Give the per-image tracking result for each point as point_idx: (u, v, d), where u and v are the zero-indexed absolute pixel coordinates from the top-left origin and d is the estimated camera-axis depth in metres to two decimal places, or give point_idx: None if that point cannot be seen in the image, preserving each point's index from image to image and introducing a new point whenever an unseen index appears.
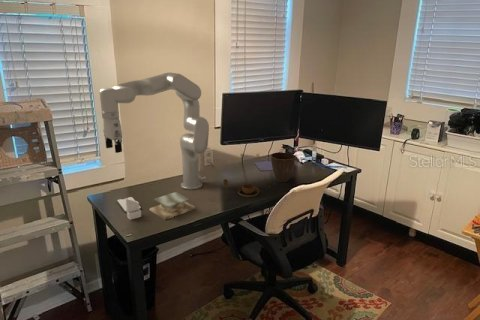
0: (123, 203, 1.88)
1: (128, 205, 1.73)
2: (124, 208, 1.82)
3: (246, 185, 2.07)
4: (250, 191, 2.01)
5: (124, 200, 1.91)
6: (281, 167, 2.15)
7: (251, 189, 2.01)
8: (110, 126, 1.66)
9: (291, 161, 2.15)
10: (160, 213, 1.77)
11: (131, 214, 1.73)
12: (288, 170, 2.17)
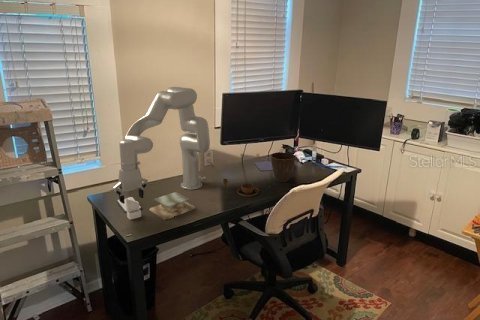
0: None
1: (128, 205, 1.73)
2: (124, 208, 1.82)
3: (245, 185, 2.08)
4: (249, 191, 2.02)
5: (124, 200, 1.91)
6: (281, 167, 2.15)
7: (250, 189, 2.02)
8: (140, 174, 1.70)
9: (291, 161, 2.15)
10: (160, 213, 1.77)
11: (131, 214, 1.73)
12: (288, 170, 2.17)
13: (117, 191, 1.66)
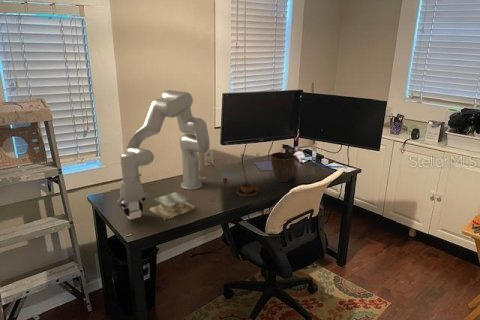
0: None
1: (128, 205, 1.73)
2: None
3: (245, 184, 2.08)
4: (248, 190, 2.02)
5: None
6: (281, 167, 2.15)
7: (249, 188, 2.02)
8: (141, 186, 1.72)
9: (291, 161, 2.15)
10: (160, 213, 1.77)
11: (131, 214, 1.73)
12: (288, 170, 2.17)
13: (122, 204, 1.69)
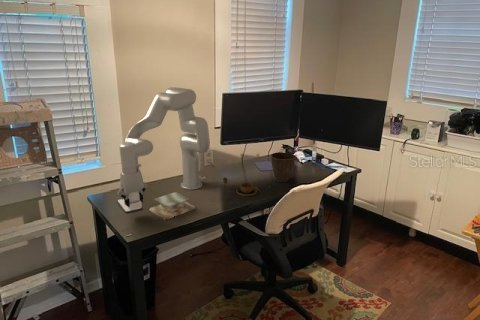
0: (123, 203, 1.88)
1: (128, 196, 1.72)
2: (124, 208, 1.82)
3: (245, 184, 2.08)
4: (248, 190, 2.02)
5: None
6: (281, 167, 2.15)
7: (249, 188, 2.02)
8: (141, 176, 1.71)
9: (291, 161, 2.15)
10: (160, 213, 1.77)
11: (131, 205, 1.72)
12: (288, 170, 2.17)
13: (122, 195, 1.68)
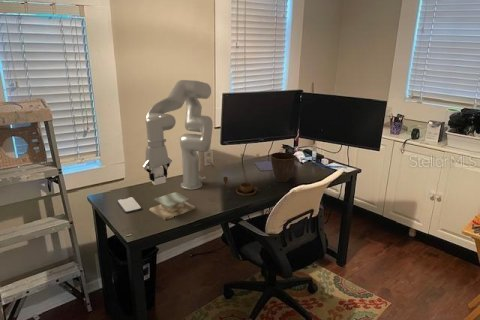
0: (123, 203, 1.88)
1: None
2: (124, 208, 1.82)
3: (245, 184, 2.09)
4: (247, 190, 2.03)
5: (124, 200, 1.91)
6: (281, 167, 2.15)
7: (248, 188, 2.03)
8: (166, 151, 1.73)
9: (291, 161, 2.15)
10: (160, 213, 1.77)
11: (156, 179, 1.74)
12: (288, 170, 2.17)
13: (147, 169, 1.70)
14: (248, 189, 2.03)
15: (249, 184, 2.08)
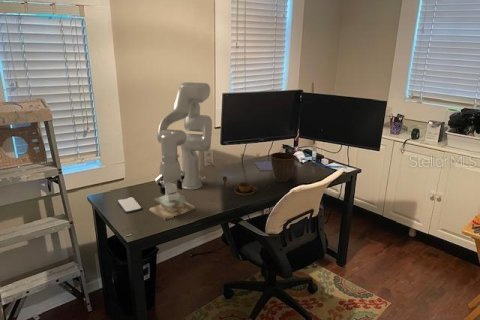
0: (123, 203, 1.87)
1: (167, 187, 1.79)
2: (124, 208, 1.82)
3: (243, 183, 2.09)
4: (245, 190, 2.03)
5: (124, 200, 1.91)
6: (281, 167, 2.15)
7: (246, 188, 2.03)
8: (179, 166, 1.78)
9: (291, 161, 2.15)
10: (160, 213, 1.77)
11: (170, 196, 1.79)
12: (288, 170, 2.17)
13: (159, 183, 1.74)
14: (246, 189, 2.03)
15: (248, 184, 2.09)
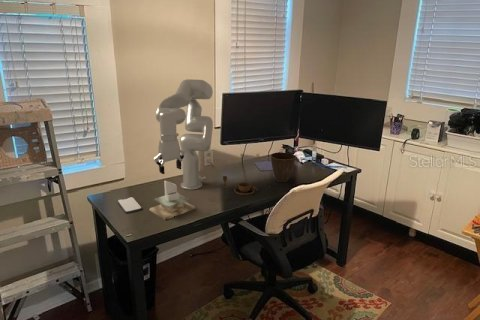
0: (123, 203, 1.87)
1: (167, 187, 1.79)
2: (124, 208, 1.82)
3: (243, 183, 2.10)
4: (245, 189, 2.04)
5: (125, 200, 1.91)
6: (281, 167, 2.15)
7: (246, 187, 2.04)
8: (178, 145, 1.75)
9: (291, 161, 2.15)
10: (160, 213, 1.77)
11: (170, 196, 1.79)
12: (288, 170, 2.17)
13: (158, 162, 1.70)
14: (246, 189, 2.04)
15: (248, 184, 2.09)
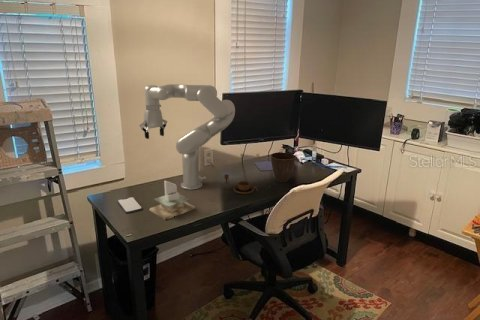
0: (124, 203, 1.87)
1: (167, 187, 1.79)
2: (125, 208, 1.82)
3: (243, 182, 2.11)
4: (244, 188, 2.05)
5: (125, 200, 1.91)
6: (281, 167, 2.15)
7: (245, 186, 2.05)
8: (161, 115, 2.07)
9: (291, 161, 2.15)
10: (160, 213, 1.77)
11: (170, 196, 1.79)
12: (288, 170, 2.17)
13: (143, 128, 2.02)
14: (245, 187, 2.05)
15: (248, 183, 2.10)
